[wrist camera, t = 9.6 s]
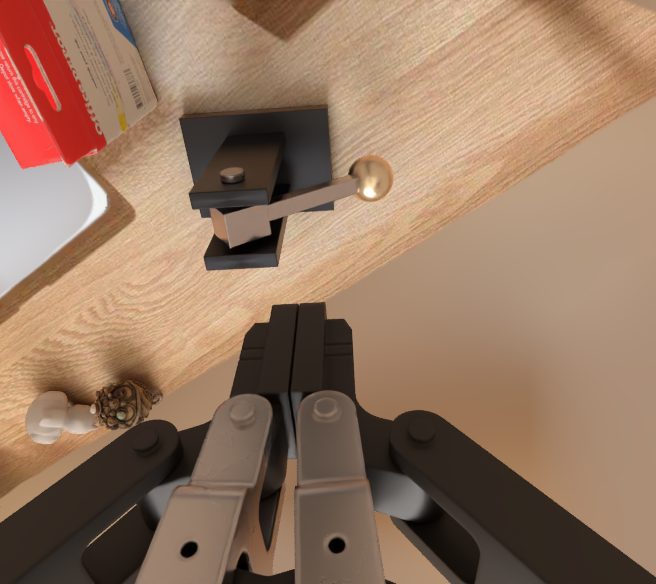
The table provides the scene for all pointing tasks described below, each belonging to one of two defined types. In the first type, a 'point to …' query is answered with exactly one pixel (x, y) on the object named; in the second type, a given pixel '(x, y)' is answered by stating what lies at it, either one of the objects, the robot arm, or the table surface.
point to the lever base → (255, 170)
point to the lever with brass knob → (303, 201)
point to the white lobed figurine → (57, 417)
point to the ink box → (68, 79)
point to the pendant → (123, 404)
